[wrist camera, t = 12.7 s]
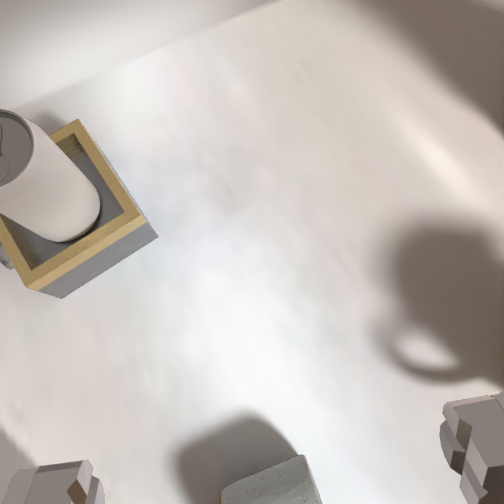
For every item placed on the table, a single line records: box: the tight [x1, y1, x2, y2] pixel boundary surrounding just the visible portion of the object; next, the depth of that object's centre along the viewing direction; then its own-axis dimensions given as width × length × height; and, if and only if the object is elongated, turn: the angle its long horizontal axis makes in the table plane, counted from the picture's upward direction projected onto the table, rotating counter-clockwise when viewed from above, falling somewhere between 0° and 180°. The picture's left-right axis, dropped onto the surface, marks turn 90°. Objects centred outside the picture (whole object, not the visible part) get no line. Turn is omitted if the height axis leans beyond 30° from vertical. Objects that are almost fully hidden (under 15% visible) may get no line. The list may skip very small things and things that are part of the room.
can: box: [0, 109, 100, 242], centre depth 35 cm, size 6×6×12 cm
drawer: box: [0, 119, 158, 299], centre depth 42 cm, size 13×11×7 cm
